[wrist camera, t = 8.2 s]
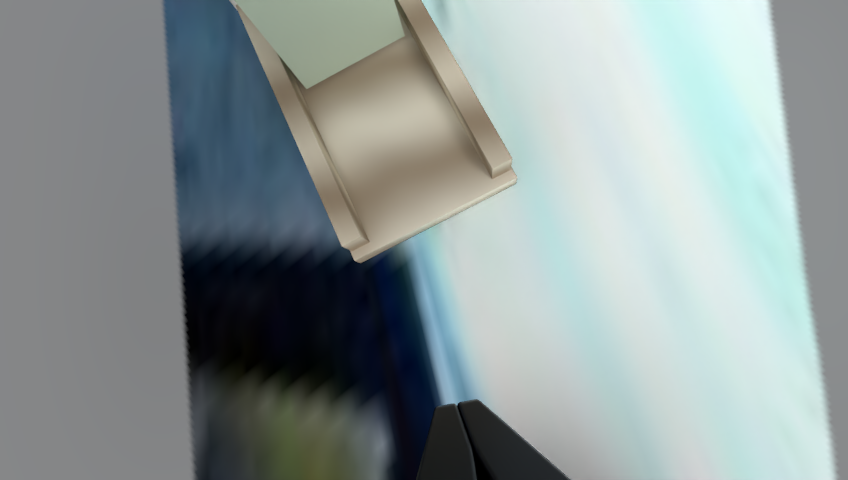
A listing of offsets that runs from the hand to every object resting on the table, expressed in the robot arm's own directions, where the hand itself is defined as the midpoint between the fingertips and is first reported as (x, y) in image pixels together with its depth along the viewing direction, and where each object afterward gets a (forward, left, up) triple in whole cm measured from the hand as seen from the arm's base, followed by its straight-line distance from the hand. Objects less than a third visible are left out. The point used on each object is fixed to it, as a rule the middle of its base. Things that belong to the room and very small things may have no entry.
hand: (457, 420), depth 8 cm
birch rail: (+13, -9, -12) cm, 19 cm away
